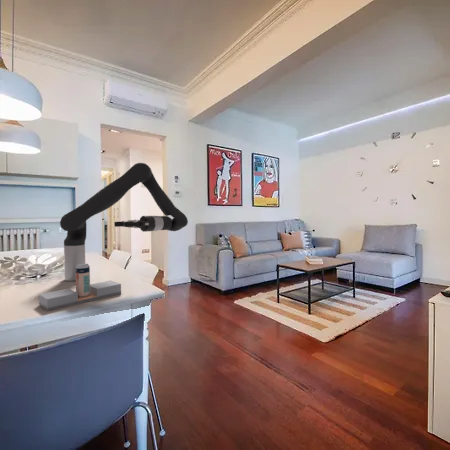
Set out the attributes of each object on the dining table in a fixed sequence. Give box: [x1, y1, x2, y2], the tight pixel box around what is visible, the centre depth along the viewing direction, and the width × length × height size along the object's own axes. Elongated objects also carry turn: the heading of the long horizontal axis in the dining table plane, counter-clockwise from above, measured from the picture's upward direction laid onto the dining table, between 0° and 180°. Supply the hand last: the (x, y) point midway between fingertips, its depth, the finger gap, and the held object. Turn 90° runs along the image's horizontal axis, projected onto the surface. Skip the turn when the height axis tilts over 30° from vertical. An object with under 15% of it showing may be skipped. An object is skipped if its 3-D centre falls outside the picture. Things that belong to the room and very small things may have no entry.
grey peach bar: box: [38, 280, 122, 312], centre depth 102 cm, size 9×26×4 cm, turn 139°
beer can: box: [75, 263, 91, 297], centre depth 102 cm, size 5×5×12 cm
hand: (119, 224), depth 116 cm, fingers open, 8 cm apart
